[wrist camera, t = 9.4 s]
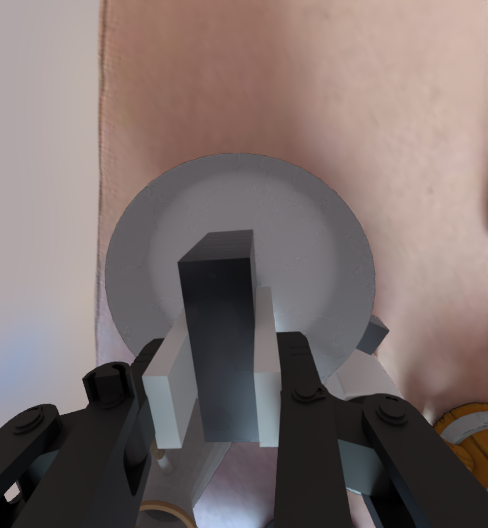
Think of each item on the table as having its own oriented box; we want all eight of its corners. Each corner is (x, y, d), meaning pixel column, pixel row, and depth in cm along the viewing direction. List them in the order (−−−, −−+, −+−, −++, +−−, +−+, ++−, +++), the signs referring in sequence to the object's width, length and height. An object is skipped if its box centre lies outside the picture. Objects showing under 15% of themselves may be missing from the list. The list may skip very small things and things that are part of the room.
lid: (356, 379, 20) (421, 509, 12) (145, 386, 21) (77, 507, 13) (367, 145, 15) (482, 102, 7) (98, 169, 16) (-49, 154, 9)
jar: (329, 318, 30) (372, 398, 19) (389, 348, 31) (465, 444, 20) (289, 375, 33) (306, 477, 21) (345, 402, 34) (391, 515, 22)
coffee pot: (233, 447, 37) (218, 615, 22) (151, 439, 37) (84, 600, 23) (242, 305, 31) (229, 413, 16) (144, 298, 31) (45, 397, 17)
